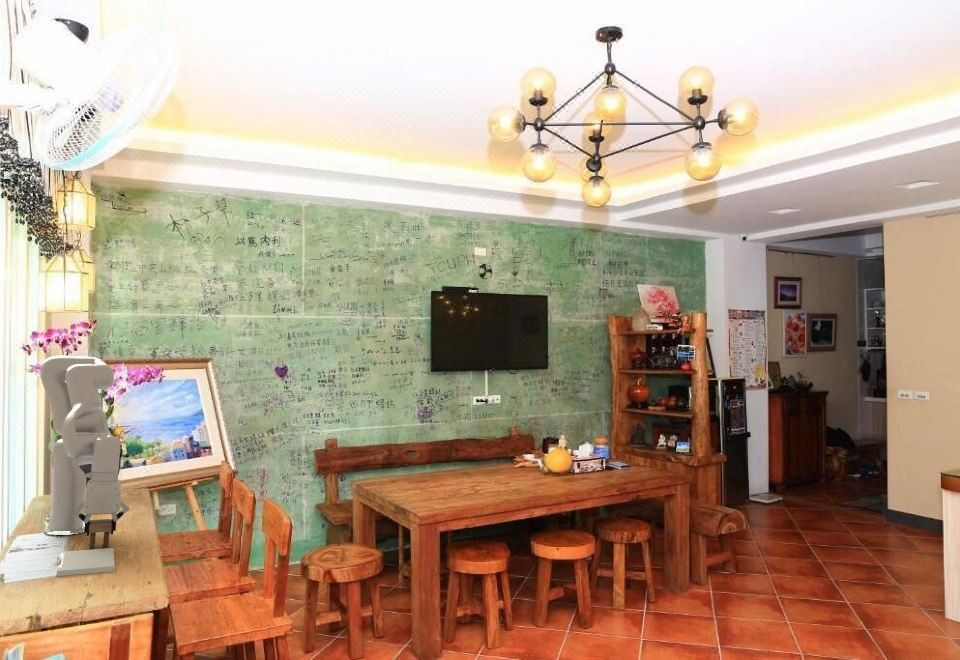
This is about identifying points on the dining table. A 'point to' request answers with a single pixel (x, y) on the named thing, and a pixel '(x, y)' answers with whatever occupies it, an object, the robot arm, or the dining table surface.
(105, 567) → the board
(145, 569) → the dining table surface
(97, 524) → the stool
